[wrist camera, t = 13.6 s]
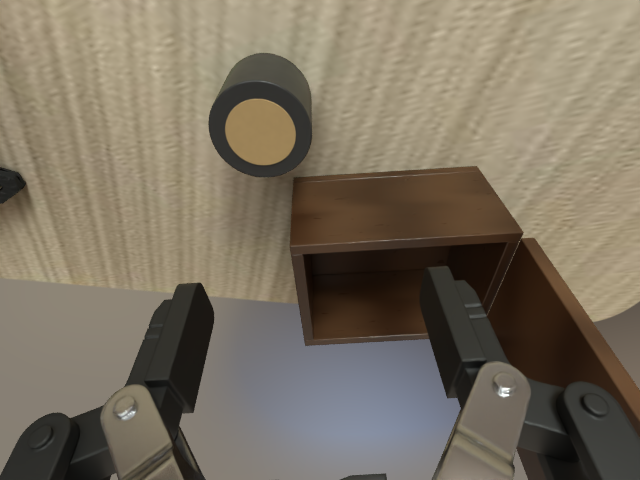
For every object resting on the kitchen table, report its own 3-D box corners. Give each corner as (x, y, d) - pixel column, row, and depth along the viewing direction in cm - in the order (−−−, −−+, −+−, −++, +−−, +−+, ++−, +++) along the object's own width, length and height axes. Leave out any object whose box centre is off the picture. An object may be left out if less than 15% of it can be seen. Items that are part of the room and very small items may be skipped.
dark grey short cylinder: (235, 142, 25) (222, 181, 21) (214, 56, 21) (194, 84, 17) (314, 137, 25) (315, 175, 21) (307, 49, 21) (307, 77, 17)
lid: (577, 611, 17) (692, 610, 17) (754, 598, 10) (964, 595, 9) (475, 341, 28) (544, 339, 28) (520, 237, 21) (615, 233, 20)
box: (305, 275, 34) (305, 346, 29) (293, 177, 27) (289, 246, 21) (449, 266, 34) (478, 336, 28) (477, 165, 27) (524, 232, 21)
